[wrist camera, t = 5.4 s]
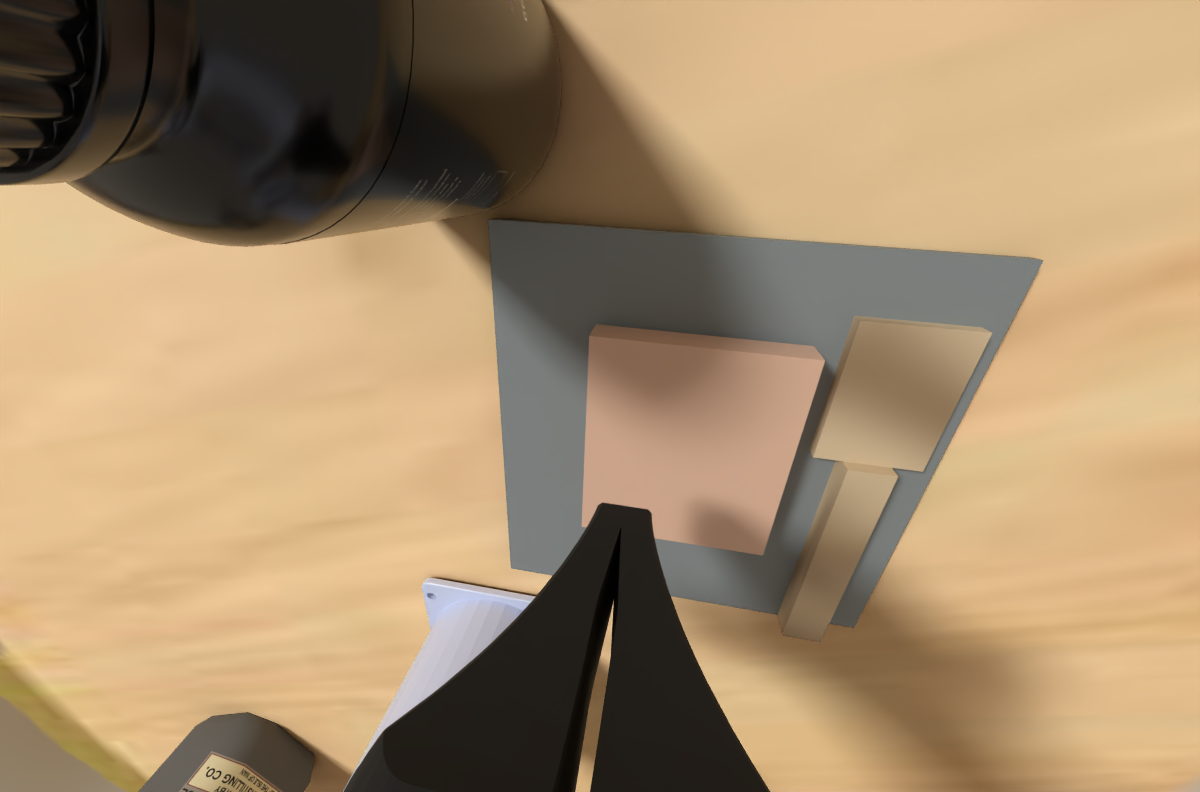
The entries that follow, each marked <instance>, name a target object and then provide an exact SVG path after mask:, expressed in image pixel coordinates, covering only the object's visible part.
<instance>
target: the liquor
mask: <svg viewBox="0 0 1200 792" xmlns="http://www.w3.org/2000/svg"><path fill="white" fill-rule="evenodd" d="M313 757H314V755H313V754H312V753H311V752H310V751H309V750H307V749H306V748H305V747H304V746H303V745H301V744H300V743H299V742H298V741H296V740H295V739H294V738H293V737H292V736H290V735H289V734H288V733H287V732H286V731H284V730H283V729H282V728H281V727H280V726H278V725H277V724H276V723H274V722H271V721H268V720H266V719H263V718H260V717H258V716H255V715H252V714H250V713H238V714H229V715H219V716H212V717H210V718H208V719H207V720H205V721H203V722H202V723H200V724H198V725H197V726H195V727H194V729H193V730H192V731H191V732H190V733H189V734H188V735H187V737H186V738H185V739H184V740H183V741H182V742H181V743H180V745H179V746H178V747H177V748H176V749H175V750H174V751H173V753H172V754H171V755H170V756H169V757H168V758H167V759H166V761H165V762H164V763H163V764H162V765H161V766H160V767H159V769H158V770H157V771H156V772H155V773H154V774H153V775H152V777H151V778H150V779H149V780H148V781H147V782H146V783H145V785H144V786H143V787H142V788H141V789H140V790H139V791H138V792H304V791H305V789H306V787H307V786H308V784H309V782H310V779H311V774H312V769H313Z"/></svg>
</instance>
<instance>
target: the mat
mask: <svg viewBox="0 0 1200 792" xmlns="http://www.w3.org/2000/svg"><path fill="white" fill-rule="evenodd" d="M488 229H489V244H490V259H491V274H492V289H493V304H494V319H495V334H496V349H497V364H498V379H499V394H500V409H501V425H502V440H503V455H504V470H505V485H506V500H507V515H508V530H509V545H510V560H511V568H513V569H518V570H524V571H530V572H536V573H541V574H547V575H554V574H555V572H556V571H557V570H558V569H559V567H560V566H561V565H562V563H563V562H564V561H565V559H566V558H567V556H568V555H569V553H570V552H571V551H572V549H573V548H574V546H575V545H576V543H577V542H578V540H579V539H580V537H581V536H582V534H583V532H584V531H585V529H586V528H587V527H582V503H583V478H584V454H585V429H586V405H587V380H588V356H589V336H590V334H591V332H592V330H593V328H594V327H595V325H596V324H599V325H609V326H619V327H629V328H639V329H649V330H659V331H669V332H679V333H689V334H699V335H709V336H718V337H728V338H738V339H748V340H758V341H768V342H778V343H788V344H798V345H808V346H814V347H815V348H816V349H817V351H818V352H819V353H820V355H821V356H822V357H823V358H824V360H825V363H824V366H823V369H822V372H821V375H820V378H819V382H818V385H817V388H816V391H815V394H814V397H813V400H812V403H811V407H810V410H809V413H808V416H807V419H806V422H805V425H804V428H803V432H802V435H801V438H800V441H799V444H798V447H797V450H796V454H795V457H794V460H793V463H792V466H791V469H790V472H789V475H788V479H787V482H786V485H785V488H784V491H783V494H782V497H781V500H780V504H779V507H778V510H777V513H776V516H775V519H774V522H773V525H772V529H771V532H770V535H769V538H768V541H767V544H766V547H765V550H764V554H763V555H757V554H750V553H744V552H738V551H732V550H725V549H719V548H713V547H706V546H700V545H694V544H688V543H681V542H675V541H669V540H662V539H656V538H655V543H656V547H657V552H658V556H659V560H660V563H661V567H662V570H663V574H664V577H665V580H666V584H667V587H668V590H669V593H670V596H673V597H679V598H685V599H690V600H696V601H702V602H708V603H713V604H719V605H725V606H731V607H736V608H742V609H748V610H753V611H759V612H765V613H771V614H776V615H778V612H779V610H780V607H781V604H782V602H783V599H784V596H785V594H786V591H787V588H788V586H789V583H790V580H791V578H792V575H793V572H794V570H795V567H796V564H797V562H798V559H799V556H800V554H801V551H802V548H803V546H804V543H805V540H806V538H807V535H808V533H809V530H810V527H811V525H812V522H813V519H814V517H815V514H816V511H817V509H818V506H819V503H820V501H821V498H822V495H823V493H824V490H825V487H826V485H827V482H828V479H829V477H830V474H831V471H832V469H833V466H834V463H835V461H836V460H829V459H821V458H813V456H812V454H811V452H810V450H809V449H810V446H811V443H812V440H813V437H814V434H815V431H816V428H817V425H818V422H819V419H820V416H821V413H822V410H823V407H824V404H825V402H826V399H827V396H828V393H829V390H830V387H831V384H832V381H833V378H834V375H835V372H836V369H837V366H838V363H839V360H840V357H841V354H842V351H843V348H844V345H845V342H846V339H847V336H848V333H849V330H850V327H851V324H852V321H853V318H854V316H863V317H873V318H884V319H895V320H906V321H917V322H928V323H939V324H950V325H961V326H972V327H982V328H984V329H986V330H988V331H990V332H992V335H991V337H990V339H989V341H988V343H987V345H986V347H985V349H984V351H983V353H982V355H981V357H980V359H979V361H978V363H977V365H976V367H975V369H974V371H973V373H972V375H971V377H970V379H969V381H968V383H967V385H966V387H965V389H964V391H963V393H962V395H961V397H960V399H959V401H958V403H957V405H956V407H955V409H954V411H953V413H952V415H951V417H950V419H949V421H948V423H947V425H946V427H945V429H944V431H943V433H942V435H941V437H940V439H939V441H938V443H937V445H936V447H935V449H934V451H933V453H932V455H931V457H930V459H929V461H928V463H927V465H926V467H925V469H924V471H923V472H920V471H913V470H905V469H898V468H892V469H893V470H894V471H895V473H896V474H897V476H898V478H897V481H896V483H895V485H894V487H893V489H892V491H891V493H890V495H889V498H888V500H887V502H886V504H885V506H884V508H883V510H882V512H881V515H880V517H879V519H878V521H877V523H876V525H875V527H874V529H873V532H872V534H871V536H870V538H869V540H868V542H867V544H866V546H865V549H864V551H863V553H862V555H861V557H860V559H859V561H858V563H857V566H856V568H855V570H854V572H853V574H852V576H851V578H850V580H849V583H848V585H847V587H846V589H845V591H844V593H843V595H842V597H841V600H840V602H839V604H838V606H837V608H836V610H835V612H834V614H833V617H832V619H831V621H830V623H829V624H834V625H839V626H845V627H851V628H854V626H855V625H856V623H857V621H858V619H859V617H860V615H861V613H862V611H863V609H864V607H865V605H866V603H867V601H868V599H869V597H870V595H871V594H872V592H873V590H874V588H875V586H876V584H877V582H878V580H879V578H880V576H881V574H882V572H883V570H884V568H885V566H886V564H887V563H888V561H889V559H890V557H891V555H892V553H893V551H894V549H895V547H896V545H897V543H898V541H899V539H900V537H901V535H902V533H903V532H904V530H905V528H906V526H907V524H908V522H909V520H910V518H911V516H912V514H913V512H914V510H915V508H916V506H917V504H918V502H919V501H920V499H921V497H922V495H923V493H924V491H925V489H926V487H927V485H928V483H929V481H930V479H931V477H932V475H933V473H934V471H935V470H936V468H937V466H938V464H939V462H940V460H941V458H942V456H943V454H944V452H945V450H946V448H947V446H948V444H949V442H950V440H951V439H952V437H953V435H954V433H955V431H956V429H957V427H958V425H959V423H960V421H961V419H962V417H963V415H964V413H965V411H966V409H967V408H968V406H969V404H970V402H971V400H972V398H973V396H974V394H975V392H976V390H977V388H978V386H979V384H980V382H981V380H982V378H983V377H984V375H985V373H986V371H987V369H988V367H989V365H990V363H991V361H992V359H993V357H994V355H995V353H996V351H997V349H998V347H999V346H1000V344H1001V342H1002V340H1003V338H1004V336H1005V334H1006V332H1007V330H1008V328H1009V326H1010V324H1011V322H1012V320H1013V318H1014V316H1015V315H1016V313H1017V311H1018V309H1019V307H1020V305H1021V303H1022V301H1023V299H1024V297H1025V295H1026V293H1027V291H1028V289H1029V287H1030V285H1031V284H1032V282H1033V280H1034V278H1035V276H1036V274H1037V272H1038V270H1039V268H1040V266H1041V264H1042V262H1043V260H1040V259H1036V258H1029V257H1015V256H1002V255H988V254H974V253H960V252H947V251H933V250H919V249H906V248H892V247H878V246H865V245H851V244H837V243H823V242H810V241H796V240H782V239H769V238H755V237H741V236H727V235H714V234H700V233H686V232H673V231H659V230H645V229H631V228H618V227H604V226H590V225H577V224H563V223H549V222H535V221H522V220H508V219H494V218H492V219H488Z"/></svg>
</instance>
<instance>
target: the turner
mask: <svg viewBox="0 0 1200 792" xmlns="http://www.w3.org/2000/svg"><path fill="white" fill-rule="evenodd" d="M991 335H992V332H990V331H988V330H986V329H984V328H982V327H972V326H961V325H950V324H939V323H928V322H917V321H906V320H895V319H884V318H873V317H863V316H854V318H853V321H852V324H851V327H850V330H849V333H848V336H847V339H846V342H845V345H844V348H843V351H842V354H841V357H840V360H839V363H838V366H837V369H836V372H835V375H834V378H833V381H832V384H831V387H830V390H829V393H828V396H827V399H826V402H825V404H824V407H823V410H822V413H821V416H820V419H819V422H818V425H817V428H816V431H815V434H814V437H813V440H812V443H811V446H810V449H809V450H810V452H811V454H812V456H813V458H821V459H829V460H836V461H835V463H834V466H833V469H832V471H831V474H830V477H829V479H828V482H827V485H826V487H825V490H824V493H823V495H822V498H821V501H820V503H819V506H818V509H817V511H816V514H815V517H814V519H813V522H812V525H811V527H810V530H809V533H808V535H807V538H806V540H805V543H804V546H803V548H802V551H801V554H800V556H799V559H798V562H797V564H796V567H795V570H794V572H793V575H792V578H791V580H790V583H789V586H788V588H787V591H786V594H785V596H784V599H783V602H782V604H781V607H780V610H779V612H778V619H779V623H780V628H781V632H782V635H783V636H789V637H795V638H800V639H806V640H811V641H817V642H821V640H822V638H823V636H824V634H825V631H826V629H827V627H828V625H829V623H830V621H831V619H832V617H833V614H834V612H835V610H836V608H837V606H838V604H839V602H840V600H841V597H842V595H843V593H844V591H845V589H846V587H847V585H848V583H849V580H850V578H851V576H852V574H853V572H854V570H855V568H856V566H857V563H858V561H859V559H860V557H861V555H862V553H863V551H864V549H865V546H866V544H867V542H868V540H869V538H870V536H871V534H872V532H873V529H874V527H875V525H876V523H877V521H878V519H879V517H880V515H881V512H882V510H883V508H884V506H885V504H886V502H887V500H888V498H889V495H890V493H891V491H892V489H893V487H894V485H895V483H896V481H897V478H898V476H897V474H896V473H895V471H894V470H893V469H892V468H898V469H905V470H913V471H920V472H923V471H924V469H925V467H926V465H927V463H928V461H929V459H930V457H931V455H932V453H933V451H934V449H935V447H936V445H937V443H938V441H939V439H940V437H941V435H942V433H943V431H944V429H945V427H946V425H947V423H948V421H949V419H950V417H951V415H952V413H953V411H954V409H955V407H956V405H957V403H958V401H959V399H960V397H961V395H962V393H963V391H964V389H965V387H966V385H967V383H968V381H969V379H970V377H971V375H972V373H973V371H974V369H975V367H976V365H977V363H978V361H979V359H980V357H981V355H982V353H983V351H984V349H985V347H986V345H987V343H988V341H989V339H990V337H991Z"/></svg>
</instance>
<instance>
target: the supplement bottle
mask: <svg viewBox="0 0 1200 792" xmlns="http://www.w3.org/2000/svg"><path fill="white" fill-rule="evenodd" d="M560 103H561V71H560V61H559V55H558V49H557V44H556V40H555V36H554V32H553V29H552V26H551V23H550V20H549V17H548V14H547V12H546V10H545V7H544V5H543V3H542V1H541V0H0V185H35V184H53V183H63V182H66V183H67V184H69V185H71V186H72V187H74V188H75V189H77V190H78V191H80V192H81V193H83V194H85V195H86V196H88V197H90V198H92V199H94V200H95V201H97V202H99V203H101V204H102V205H104V206H106V207H108V208H110V209H112V210H114V211H116V212H118V213H121V214H123V215H125V216H127V217H129V218H131V219H133V220H136V221H138V222H141V223H143V224H146V225H148V226H151V227H154V228H156V229H159V230H162V231H165V232H168V233H171V234H174V235H177V236H181V237H185V238H188V239H192V240H196V241H200V242H205V243H211V244H218V245H225V246H243V247H248V246H263V245H276V244H287V243H294V242H301V241H307V240H314V239H320V238H327V237H333V236H339V235H346V234H352V233H359V232H365V231H371V230H378V229H384V228H390V227H397V226H403V225H410V224H416V223H422V222H429V221H435V220H442V219H448V218H454V217H460V216H465V215H470V214H475V213H480V212H484V211H487V210H490V209H493V208H495V207H497V206H499V205H501V204H504V203H505V202H507V201H508V200H510V199H512V198H513V197H514V196H515V195H517V194H518V193H519V192H520V191H521V190H522V189H524V188H525V187H526V186H527V185H528V183H529V182H530V181H531V180H532V179H533V177H534V176H535V175H536V173H537V172H538V170H539V169H540V167H541V165H542V164H543V162H544V160H545V158H546V156H547V154H548V151H549V149H550V147H551V144H552V141H553V138H554V135H555V132H556V127H557V123H558V118H559V111H560Z"/></svg>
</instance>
